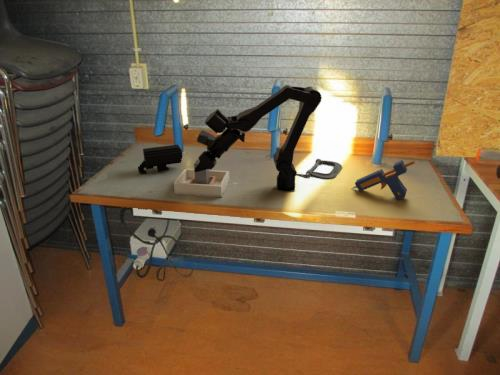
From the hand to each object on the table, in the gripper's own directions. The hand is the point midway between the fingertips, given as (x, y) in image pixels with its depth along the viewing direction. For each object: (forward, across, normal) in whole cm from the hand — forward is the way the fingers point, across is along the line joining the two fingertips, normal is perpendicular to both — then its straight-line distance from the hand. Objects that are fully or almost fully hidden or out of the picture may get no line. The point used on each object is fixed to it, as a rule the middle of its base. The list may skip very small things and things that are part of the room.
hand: (198, 166), depth 150 cm
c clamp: (-26, -24, +39) cm, 53 cm away
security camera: (+21, -14, -8) cm, 26 cm away
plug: (+5, 0, +6) cm, 8 cm away
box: (+5, 0, +7) cm, 9 cm away
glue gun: (-42, -4, +54) cm, 69 cm away
